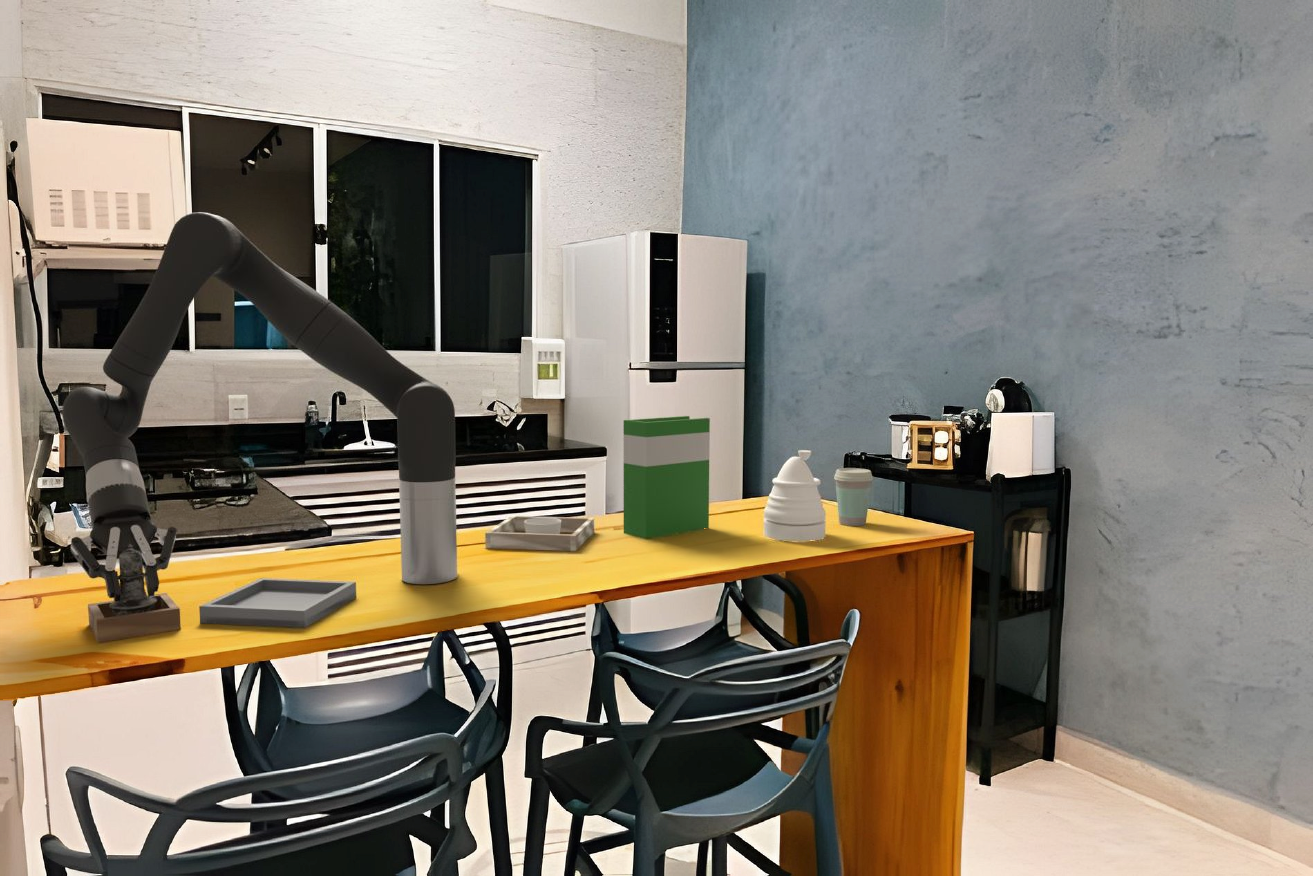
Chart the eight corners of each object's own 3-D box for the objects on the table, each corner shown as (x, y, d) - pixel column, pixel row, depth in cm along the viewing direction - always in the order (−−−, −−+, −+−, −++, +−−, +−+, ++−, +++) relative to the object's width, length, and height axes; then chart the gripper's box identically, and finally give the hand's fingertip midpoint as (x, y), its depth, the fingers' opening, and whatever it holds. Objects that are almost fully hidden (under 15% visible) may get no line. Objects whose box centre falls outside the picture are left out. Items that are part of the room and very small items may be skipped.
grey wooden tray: (512, 529, 200) (511, 515, 200) (594, 532, 198) (594, 518, 198) (485, 548, 183) (485, 532, 182) (575, 551, 180) (575, 535, 180)
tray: (261, 593, 149) (261, 578, 149) (356, 597, 147) (355, 581, 147) (200, 623, 134) (199, 606, 133) (304, 628, 132) (304, 610, 131)
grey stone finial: (143, 618, 136) (138, 537, 135) (166, 625, 133) (162, 542, 132) (101, 629, 131) (96, 545, 130) (125, 636, 128) (120, 550, 126)
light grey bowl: (564, 549, 183) (564, 525, 182) (514, 549, 183) (513, 525, 182) (570, 538, 192) (570, 516, 192) (522, 538, 193) (522, 515, 192)
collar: (89, 624, 133) (87, 604, 132) (167, 612, 139) (166, 592, 138) (98, 643, 125) (96, 621, 125) (180, 629, 131) (179, 608, 131)
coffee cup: (866, 519, 213) (867, 467, 211) (876, 527, 204) (877, 473, 203) (829, 520, 212) (830, 467, 211) (837, 527, 204) (838, 473, 203)
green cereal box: (686, 523, 208) (686, 415, 206) (708, 528, 203) (709, 418, 200) (623, 533, 197) (623, 420, 194) (645, 539, 191) (645, 422, 189)
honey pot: (834, 533, 197) (836, 449, 196) (811, 545, 186) (813, 455, 185) (777, 527, 204) (779, 445, 202) (753, 538, 193) (754, 451, 191)
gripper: (61, 486, 131) (76, 589, 123) (172, 477, 140) (194, 573, 132) (60, 517, 136) (74, 619, 128) (167, 507, 145) (188, 601, 136)
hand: (135, 595), depth 130 cm, fingers closed on grey stone finial, 3 cm apart
